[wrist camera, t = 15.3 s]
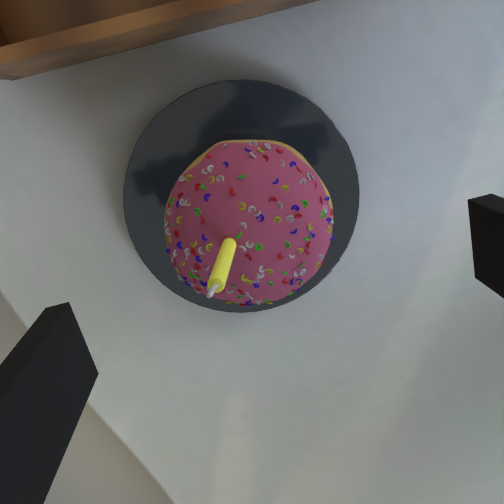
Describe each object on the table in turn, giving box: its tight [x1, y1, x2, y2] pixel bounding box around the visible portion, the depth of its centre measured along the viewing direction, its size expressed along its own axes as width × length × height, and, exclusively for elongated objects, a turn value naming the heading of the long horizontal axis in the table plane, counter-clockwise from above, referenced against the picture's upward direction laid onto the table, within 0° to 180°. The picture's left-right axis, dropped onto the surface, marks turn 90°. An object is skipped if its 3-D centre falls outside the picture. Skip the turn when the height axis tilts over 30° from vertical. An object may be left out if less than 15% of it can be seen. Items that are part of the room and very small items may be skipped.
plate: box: [123, 80, 359, 313], centre depth 29 cm, size 14×14×1 cm
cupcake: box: [164, 140, 334, 307], centre depth 22 cm, size 9×8×12 cm
